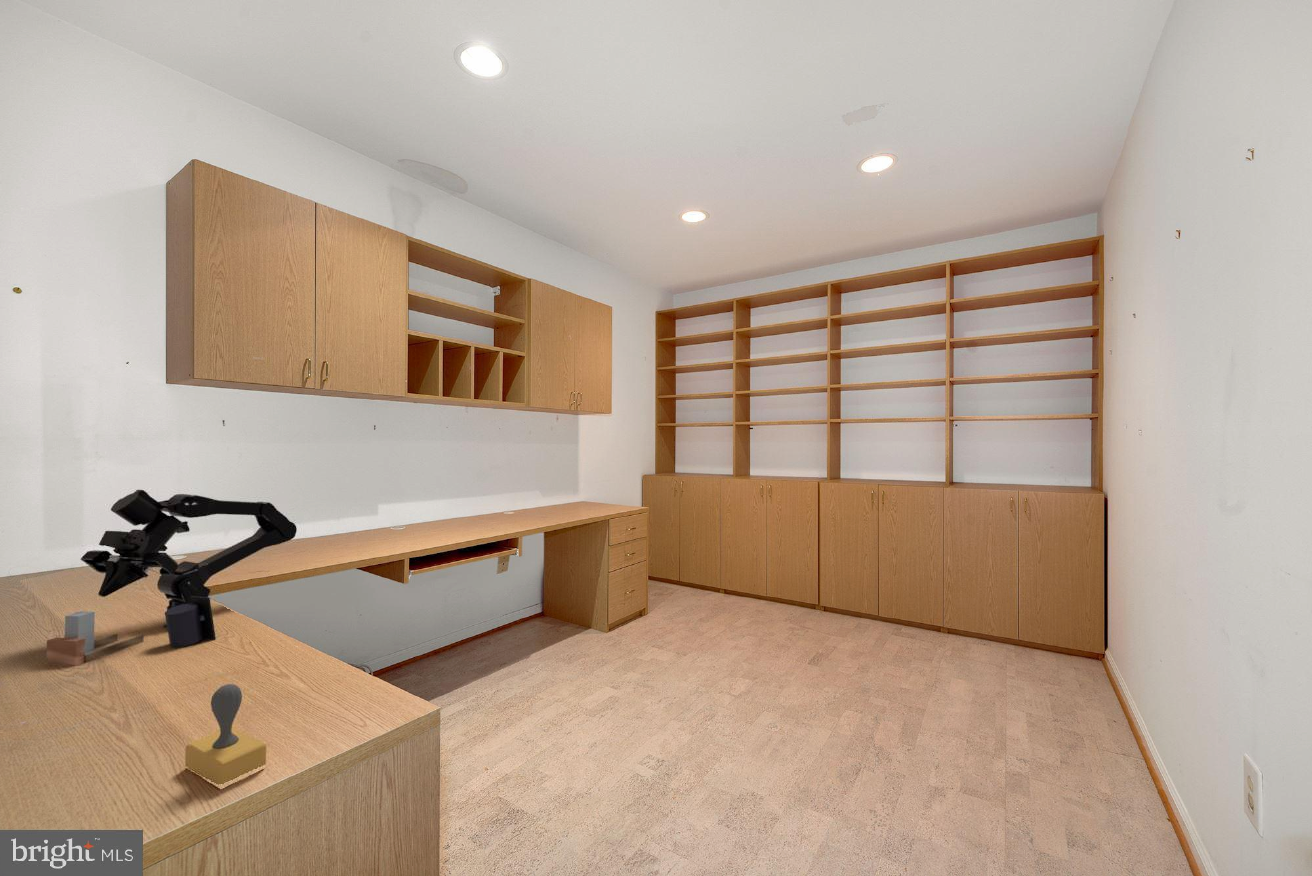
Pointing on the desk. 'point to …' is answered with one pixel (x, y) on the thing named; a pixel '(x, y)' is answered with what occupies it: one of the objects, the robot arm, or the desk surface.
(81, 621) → the sliding block
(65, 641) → the guide track
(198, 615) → the speaker
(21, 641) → the desk surface
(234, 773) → the rubber stamp
